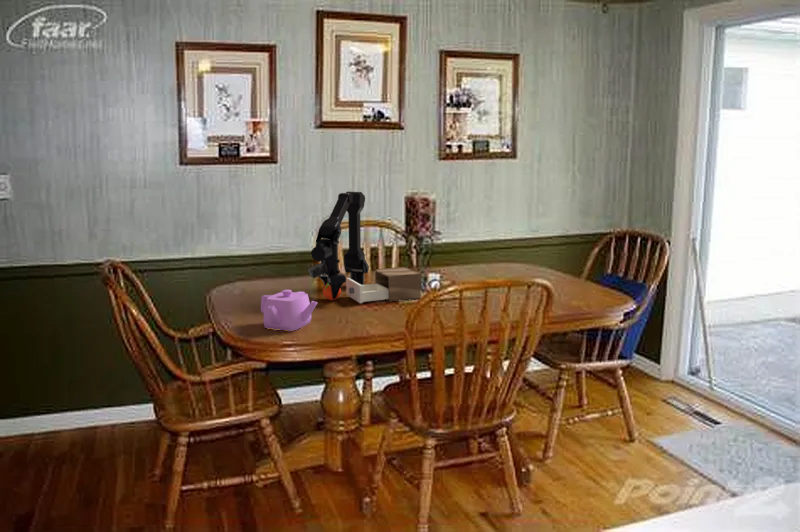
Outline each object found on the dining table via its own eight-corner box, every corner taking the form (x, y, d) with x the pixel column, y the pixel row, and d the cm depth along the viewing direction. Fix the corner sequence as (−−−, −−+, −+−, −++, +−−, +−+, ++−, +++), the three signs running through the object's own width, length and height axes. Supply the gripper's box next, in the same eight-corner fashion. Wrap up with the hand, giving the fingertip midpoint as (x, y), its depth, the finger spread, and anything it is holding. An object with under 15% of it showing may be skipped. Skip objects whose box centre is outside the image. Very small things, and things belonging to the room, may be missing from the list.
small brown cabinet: (375, 293, 288) (374, 269, 286) (404, 290, 293) (404, 266, 291) (389, 302, 275) (389, 276, 273) (420, 298, 280) (420, 273, 278)
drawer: (343, 295, 283) (343, 278, 281) (376, 291, 288) (376, 275, 287) (357, 303, 269) (356, 285, 268) (391, 300, 275) (391, 282, 274)
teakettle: (304, 316, 254) (303, 282, 252) (319, 329, 239) (318, 293, 237) (256, 322, 248) (255, 287, 245) (269, 335, 232) (268, 298, 230)
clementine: (333, 303, 272) (332, 285, 271) (317, 301, 276) (317, 283, 274) (344, 298, 279) (344, 281, 278) (329, 296, 283) (329, 279, 281)
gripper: (302, 254, 280) (303, 293, 283) (317, 263, 263) (318, 304, 266) (330, 252, 284) (330, 290, 287) (346, 260, 267) (346, 301, 270)
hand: (331, 296), depth 278 cm, fingers closed on clementine, 7 cm apart
